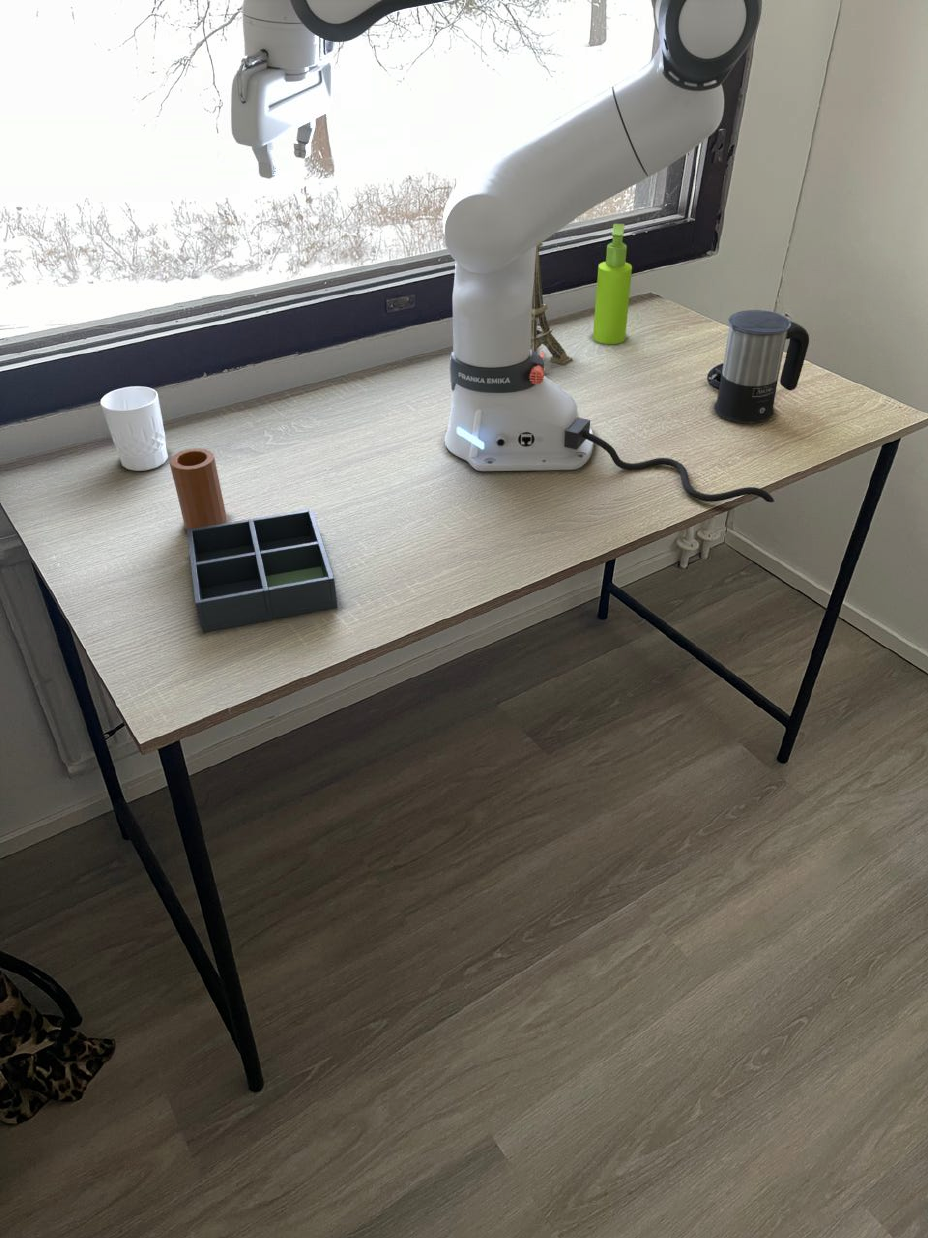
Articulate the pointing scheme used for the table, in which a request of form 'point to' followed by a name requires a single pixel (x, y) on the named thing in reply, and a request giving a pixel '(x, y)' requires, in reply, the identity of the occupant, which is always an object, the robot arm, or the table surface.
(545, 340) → the eiffel tower
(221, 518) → the jar
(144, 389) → the white cup
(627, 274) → the soap dispenser
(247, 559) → the compartment tray
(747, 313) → the milk frother
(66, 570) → the table surface
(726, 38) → the robot arm
